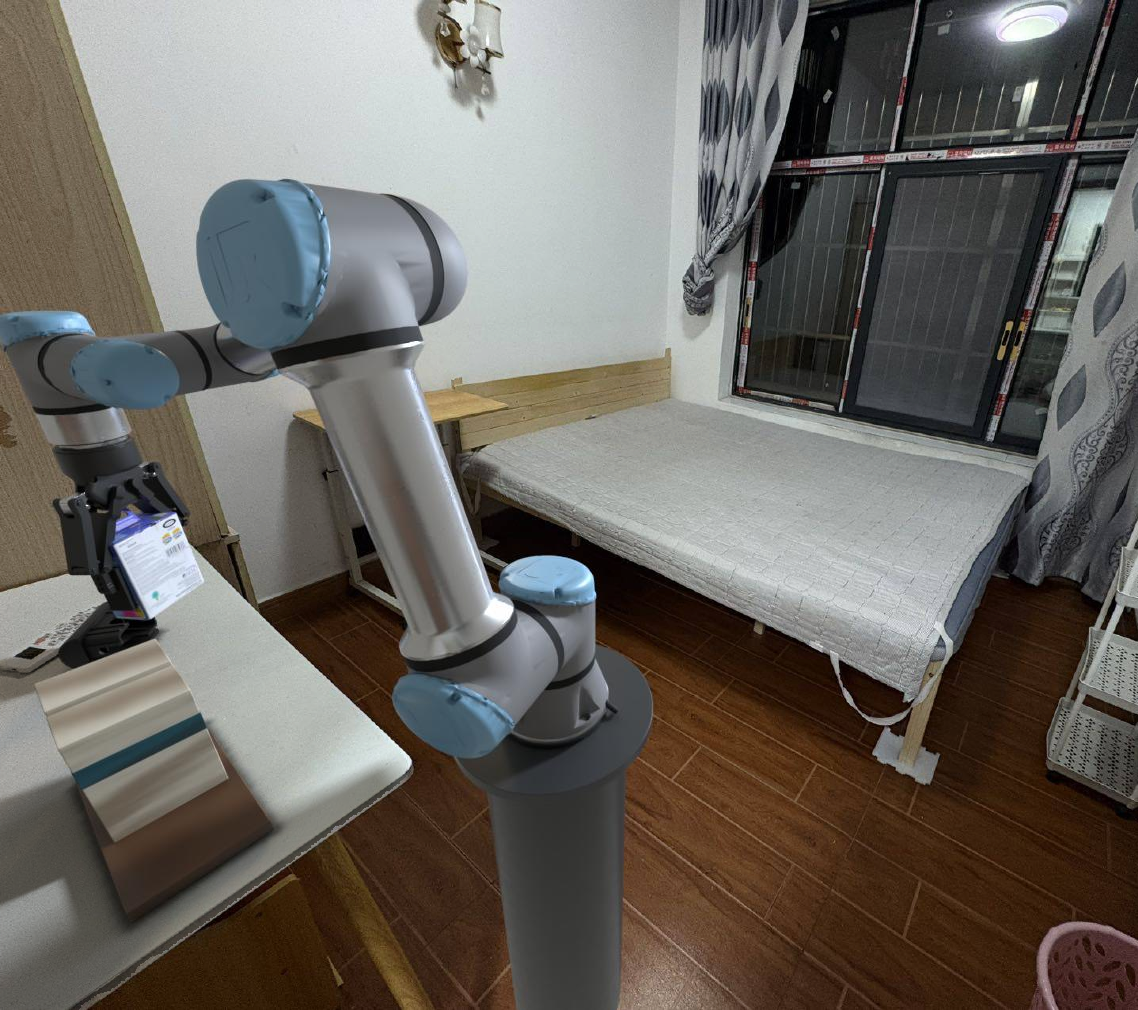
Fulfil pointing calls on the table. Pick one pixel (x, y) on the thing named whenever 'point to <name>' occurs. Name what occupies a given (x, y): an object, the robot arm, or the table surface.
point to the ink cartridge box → (153, 561)
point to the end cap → (104, 637)
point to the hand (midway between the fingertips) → (155, 586)
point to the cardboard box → (149, 774)
